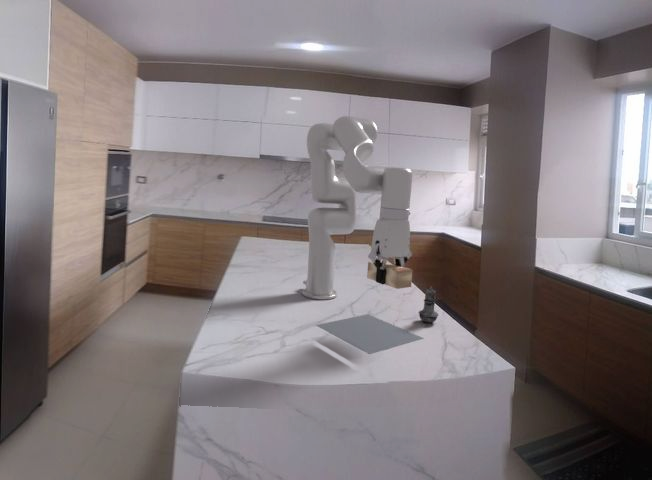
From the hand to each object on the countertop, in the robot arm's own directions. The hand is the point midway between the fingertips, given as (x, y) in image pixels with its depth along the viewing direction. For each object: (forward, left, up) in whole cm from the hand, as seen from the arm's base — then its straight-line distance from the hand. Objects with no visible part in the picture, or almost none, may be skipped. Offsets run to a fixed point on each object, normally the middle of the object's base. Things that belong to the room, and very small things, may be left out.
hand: (388, 281), depth 110 cm
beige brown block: (0, 0, 0) cm, 0 cm away
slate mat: (-3, -3, -15) cm, 16 cm away
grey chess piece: (0, +18, -16) cm, 24 cm away
